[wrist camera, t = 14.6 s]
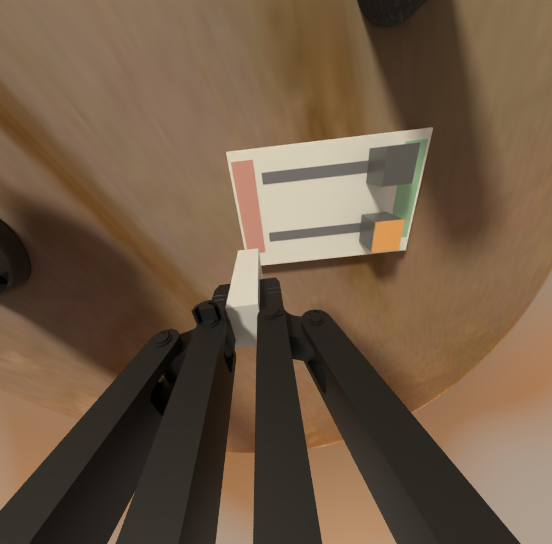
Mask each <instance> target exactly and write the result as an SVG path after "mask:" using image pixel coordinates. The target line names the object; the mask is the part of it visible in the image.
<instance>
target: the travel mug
mask: <svg viewBox="0 0 552 544" xmlns="http://www.w3.org/2000/svg"><path fill="white" fill-rule="evenodd" d="M426 1H427V0H358V2H359V5H360V7H361V9H362V11H363V13H364V14H365V16H366V17H367V18H368V19H369V20H370V21H371V22H373V23H374V24H377V25H379V26H392V25H396V24H398V23H400V22H402V21H404V20H405V19H407V18H408V17H409V16H410V15H412V14H413V13H414V12H415V11H416V10H417V9H418V8H419V7H420V6H422V5H423V4H424V3H425V2H426Z"/></svg>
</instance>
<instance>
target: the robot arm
mask: <svg viewBox="0 0 552 544" xmlns="http://www.w3.org/2000/svg"><path fill="white" fill-rule="evenodd" d="M29 274H30V263H29V259H28V256H27V254H26V251H25V250H24V248H23V246H22V244H21V243H20V241H19V240H18V239H17V238H16V236H15V235H14V234H13V233H12V232H11V231H10V230H9V228H8V227H7V226H5V225H4V224H3V223H2V222H1V221H0V296H2V295H4V294H6V293H8V292H10V291H12V290H14V289H16V288H18V287H20V286H21V285H23V284H24V283H25V282H26V281H27V279H28V277H29ZM192 313H193V316H194V318H195V321H196V323H197V326H196V328H195V329H193V330H191V331H188V332H185V333H183V334H180V335H179V333H178V332H177V330H174V329H168V330H164V331H161V332H159V333H158V334H156V335H155V336H153V337H152V338H151V339H150V340H149V341H148V343H147V344H146V345H145V346H144V347H143V348H142V349H141V351H140V352H139V353H138V354H137V355H136V356H135V357H134V359H133V360H132V361H131V362H130V363H129V364H128V365H127V367H126V368H125V369H124V370H123V371H122V372H121V373H120V375H119V376H118V377H117V378H116V379H115V380H114V381H113V383H112V384H111V385H110V386H109V387H108V388H107V389H106V391H105V392H104V393H103V394H102V395H101V396H100V397H99V399H98V400H97V401H96V402H95V403H94V404H93V405H92V407H91V408H90V409H89V410H88V411H87V412H86V413H85V415H84V416H83V417H82V418H81V419H80V420H79V421H78V423H77V424H76V425H75V426H74V427H73V428H72V429H71V431H70V432H69V433H68V434H67V435H66V436H65V437H64V439H63V440H62V441H61V442H60V443H59V444H58V446H57V447H56V448H55V449H54V450H53V451H52V452H51V453H50V454H49V456H48V457H47V458H46V459H45V460H44V461H43V463H42V464H41V465H40V466H39V467H38V468H37V470H36V471H35V472H34V473H33V474H32V475H31V476H30V477H29V478H28V480H27V481H26V482H25V483H24V484H23V485H22V487H21V488H20V489H19V490H18V491H17V492H16V493H15V495H14V496H13V497H12V498H11V499H10V500H9V501H8V503H7V504H6V505H5V506H4V507H3V508H2V509H1V510H0V544H107V543H108V541H109V539H110V537H111V535H112V533H113V532H114V530H115V528H116V526H117V524H118V522H119V520H120V518H121V517H122V515H123V513H124V511H125V509H126V507H127V505H128V503H129V501H130V499H131V498H132V496H133V494H134V496H133V498H132V501H131V504H130V507H129V509H128V512H127V515H126V518H125V520H124V523H123V525H122V528H121V531H120V534H119V536H118V539H117V542H116V544H215V542H216V533H217V524H218V515H219V506H220V497H221V488H222V479H223V471H224V462H225V453H226V444H227V435H228V426H229V417H230V409H231V400H232V391H233V382H234V373H235V364H236V352H235V349H234V348H235V342H236V345H237V348H242V347H249V346H257V356H256V414H255V472H254V474H255V475H254V529H253V531H254V532H253V544H322V540H321V534H320V527H319V522H318V515H317V509H316V502H315V496H314V490H313V484H312V478H311V472H310V465H309V459H308V453H307V447H306V440H305V434H304V428H303V422H302V416H301V409H300V403H299V397H298V391H297V385H296V378H295V372H294V366H293V360H292V359H296V360H302V361H304V363H305V365H306V367H307V369H308V371H309V373H310V375H311V377H312V378H313V380H314V382H315V384H316V386H317V388H318V390H319V392H320V394H321V396H322V398H323V400H324V402H325V404H326V406H327V408H328V410H329V412H330V414H331V416H332V418H333V420H334V422H335V424H336V425H337V427H338V429H339V431H340V433H341V435H342V437H343V439H344V441H345V443H346V445H347V447H348V449H349V451H350V452H351V455H352V457H353V459H354V461H355V463H356V465H357V466H358V469H359V470H360V472H361V474H362V476H363V478H364V480H365V482H366V484H367V486H368V488H369V490H370V492H371V494H372V496H373V498H374V500H375V502H376V504H377V506H378V508H379V510H380V511H381V514H382V515H383V517H384V520H385V521H386V523H387V525H388V527H389V529H390V531H391V533H392V535H393V537H394V539H395V541H396V543H397V544H520V543H519V541H518V540H517V539H516V538H515V537H514V535H513V534H512V533H511V532H510V531H509V530H508V528H507V527H506V526H505V525H504V524H503V522H502V521H501V520H500V519H499V517H498V516H497V515H496V514H495V513H494V511H493V510H492V509H491V508H490V507H489V505H487V503H486V502H485V501H484V500H483V498H482V497H481V496H480V495H479V494H478V492H477V491H476V490H475V489H474V488H473V486H472V485H471V484H470V483H469V482H468V480H467V479H466V478H465V477H464V476H463V474H462V473H461V472H460V471H459V470H458V468H457V467H456V466H455V465H454V464H453V462H451V460H450V459H449V458H448V457H447V455H446V454H445V453H444V452H443V451H442V449H441V448H440V447H439V446H438V445H437V444H436V442H435V441H434V440H433V439H432V437H431V436H430V435H429V434H428V433H427V431H426V430H425V429H424V428H423V427H422V426H421V424H420V423H419V422H418V421H417V419H416V418H415V417H414V416H413V415H412V414H411V412H410V411H409V410H408V409H407V408H406V406H405V405H404V404H403V403H402V402H401V400H400V399H399V398H398V397H397V396H396V394H395V393H394V392H393V391H392V390H391V388H390V387H389V386H388V385H387V384H386V382H385V381H384V380H383V379H382V378H381V376H380V375H379V374H378V373H377V372H376V370H375V369H374V368H373V367H372V366H371V365H370V363H369V362H368V361H367V360H366V359H365V357H364V356H363V355H362V354H361V353H360V351H359V350H358V349H357V348H356V347H355V345H354V344H353V343H352V342H351V341H350V339H349V338H348V337H347V336H346V335H345V333H344V332H343V331H342V330H341V329H340V327H339V326H338V325H337V324H336V323H335V322H334V320H333V319H332V318H331V317H330V316H329V315H328V314H327V313H326V312H324V311H321V310H309V311H307V312H305V313H304V314H303V315H302V317H300V316H294V315H291V314H289V313H287V312H286V311H285V310H284V307H283V301H282V295H281V289H280V282H279V281H278V280H277V279H276V278H268V279H263V274H262V268H261V262H260V255H259V249H258V248H257V249H249V250H241V251H238V254H237V259H236V263H235V268H234V272H233V277H232V281H231V284H225V285H219V287H218V288H217V289H216V290H215V291H214V294H213V297H212V300H208V301H204V302H202V303H200V304H198V305H197V306H195V307H194V308H193V310H192ZM162 375H163V378H162V379H161V380H160V381H159V379H160V378H161V376H162ZM158 381H159V382H158ZM134 492H135V493H134Z"/></svg>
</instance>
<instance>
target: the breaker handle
mask: <svg viewBox="0 0 552 544" xmlns="http://www.w3.org/2000/svg"><path fill="white" fill-rule="evenodd" d="M404 222H405V220H404V219H402V218H399V217H397V216H395V215H392V214H390V213H388V212H380V213H371V214H362V217H361V227H360V236H359V242H360V243H362V244H363V245H364V246H365V247H366V248H367V249H368V250H369V251H371V252H372V253H377V252H386V251H396V250H399V246H400V241H401V236H402V231H403V226H404Z"/></svg>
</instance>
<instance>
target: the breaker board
mask: <svg viewBox="0 0 552 544" xmlns="http://www.w3.org/2000/svg"><path fill="white" fill-rule="evenodd" d="M432 131H433V127H431V128H422V129H414V130H405V131H397V132H389V133H380V134H372V135H364V136H355V137H347V138H339V139H330V140H322V141H314V142H305V143H297V144H289V145H280V146H272V147H264V148H255V149H247V150H239V151H230V152H226V154H227V160H228V165H229V170H230V175H231V180H232V186H233V191H234V196H235V201H236V206H237V212H238V217H239V222H240V227H241V232H242V238H243V243H244V248H245V250H249V249H257V248H258V249H259V255H260V262H261V266H262V265H271V264H281V263H290V262H299V261H309V260H318V259H328V258H337V257H346V256H356V255H365V254H375V253H372V252H371V251H369V250H368V249H367V248H366V247H365V246H364V245H363V244H362V243H360V242H359V236H360V227H361V217H362V214H371V213H380V212H388V213H390V214H392V215H395V216H397V217H399V218H402V219H404V220H405V222H404V226H403V231H402V236H401V241H400V246H399V250H396V251H403V250H406V246H407V242H408V237H409V233H410V228H411V224H412V219H413V215H414V211H415V206H416V202H417V197H418V193H419V188H420V184H421V180H422V175H423V171H424V166H425V162H426V157H427V153H428V149H429V144H430V140H431V135H432ZM386 252H393V251H386ZM377 253H384V252H377Z"/></svg>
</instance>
